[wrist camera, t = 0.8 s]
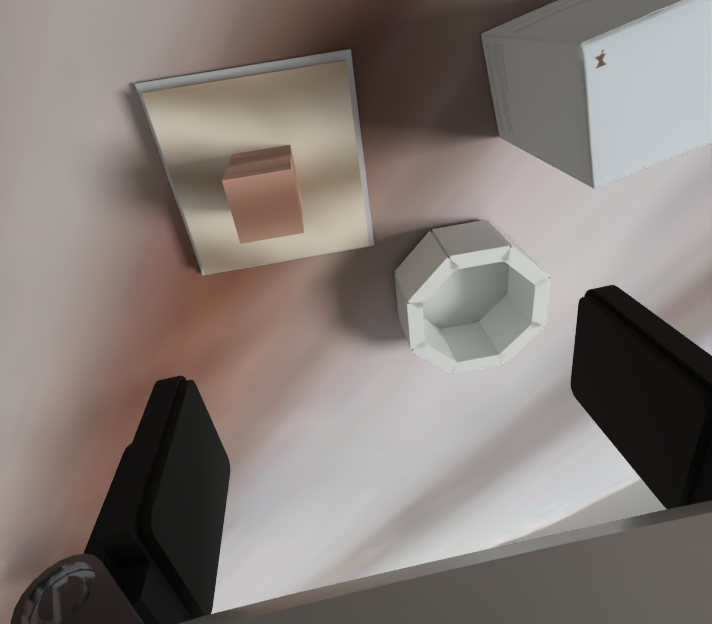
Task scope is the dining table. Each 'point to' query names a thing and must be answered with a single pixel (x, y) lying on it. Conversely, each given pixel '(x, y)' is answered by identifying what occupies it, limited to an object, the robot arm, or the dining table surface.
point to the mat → (259, 69)
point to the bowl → (470, 297)
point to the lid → (264, 164)
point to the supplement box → (604, 83)
